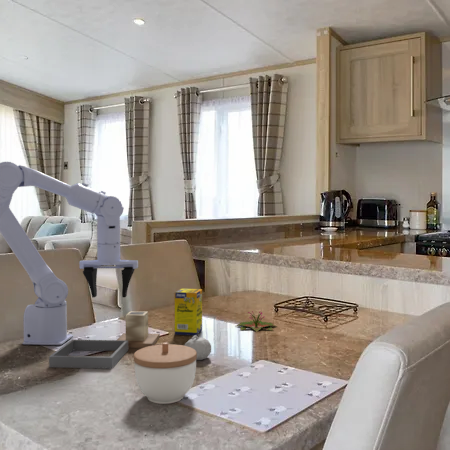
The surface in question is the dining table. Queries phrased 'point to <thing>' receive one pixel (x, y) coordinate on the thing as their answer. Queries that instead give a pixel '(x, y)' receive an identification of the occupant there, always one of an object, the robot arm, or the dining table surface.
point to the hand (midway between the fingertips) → (109, 296)
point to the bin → (66, 361)
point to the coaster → (141, 344)
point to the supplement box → (188, 311)
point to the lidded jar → (165, 371)
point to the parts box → (136, 325)
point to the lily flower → (256, 323)
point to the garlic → (199, 347)
